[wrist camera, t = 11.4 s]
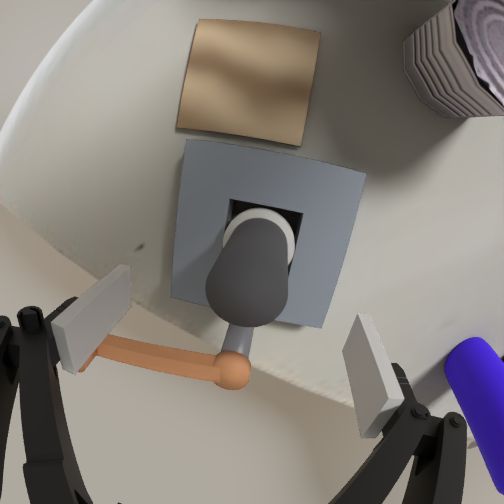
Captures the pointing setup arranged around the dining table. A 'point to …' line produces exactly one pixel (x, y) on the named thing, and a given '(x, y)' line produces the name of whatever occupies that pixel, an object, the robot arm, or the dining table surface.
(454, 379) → the bottle
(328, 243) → the socket
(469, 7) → the can
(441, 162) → the dining table surface
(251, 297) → the plug
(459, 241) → the dining table surface
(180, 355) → the ball-ended peach stick
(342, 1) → the dining table surface
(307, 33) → the coaster
